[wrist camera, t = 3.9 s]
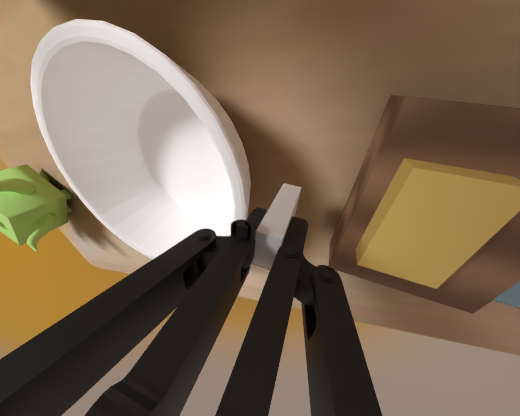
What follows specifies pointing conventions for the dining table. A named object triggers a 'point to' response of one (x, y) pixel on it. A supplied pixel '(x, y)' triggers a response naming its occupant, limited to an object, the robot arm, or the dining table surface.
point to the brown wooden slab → (446, 153)
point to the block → (435, 220)
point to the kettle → (30, 205)
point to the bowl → (137, 136)
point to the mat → (510, 296)
